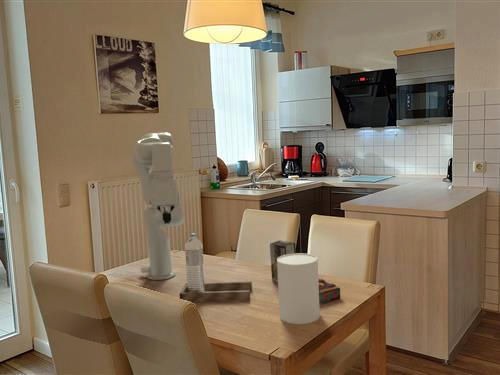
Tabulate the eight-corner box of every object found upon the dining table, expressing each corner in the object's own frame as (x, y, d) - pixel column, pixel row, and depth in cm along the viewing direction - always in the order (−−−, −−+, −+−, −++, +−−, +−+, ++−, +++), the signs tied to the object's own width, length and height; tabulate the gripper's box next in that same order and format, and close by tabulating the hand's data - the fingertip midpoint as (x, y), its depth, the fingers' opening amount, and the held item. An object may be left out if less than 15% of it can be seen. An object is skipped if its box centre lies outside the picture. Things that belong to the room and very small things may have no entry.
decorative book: (317, 288, 195) (316, 276, 195) (343, 300, 181) (342, 287, 181) (293, 294, 190) (292, 281, 190) (317, 306, 176) (317, 293, 175)
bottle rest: (180, 302, 187) (179, 293, 187) (186, 291, 199) (185, 283, 199) (250, 300, 185) (249, 291, 185) (252, 289, 197) (251, 281, 197)
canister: (323, 322, 162) (321, 262, 159) (282, 325, 161) (279, 266, 158) (315, 307, 175) (312, 252, 173) (277, 310, 174) (274, 255, 172)
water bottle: (203, 299, 189) (198, 235, 185) (185, 299, 190) (181, 236, 187) (208, 293, 195) (203, 231, 192) (191, 293, 197) (187, 231, 193)
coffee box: (297, 280, 205) (296, 242, 203) (287, 284, 201) (285, 246, 199) (281, 276, 212) (279, 239, 209) (271, 280, 207) (269, 243, 205)
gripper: (141, 177, 185) (145, 225, 187) (181, 175, 184) (184, 223, 186) (146, 175, 192) (150, 222, 194) (184, 173, 191) (188, 220, 193)
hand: (167, 222), depth 190 cm, fingers closed
